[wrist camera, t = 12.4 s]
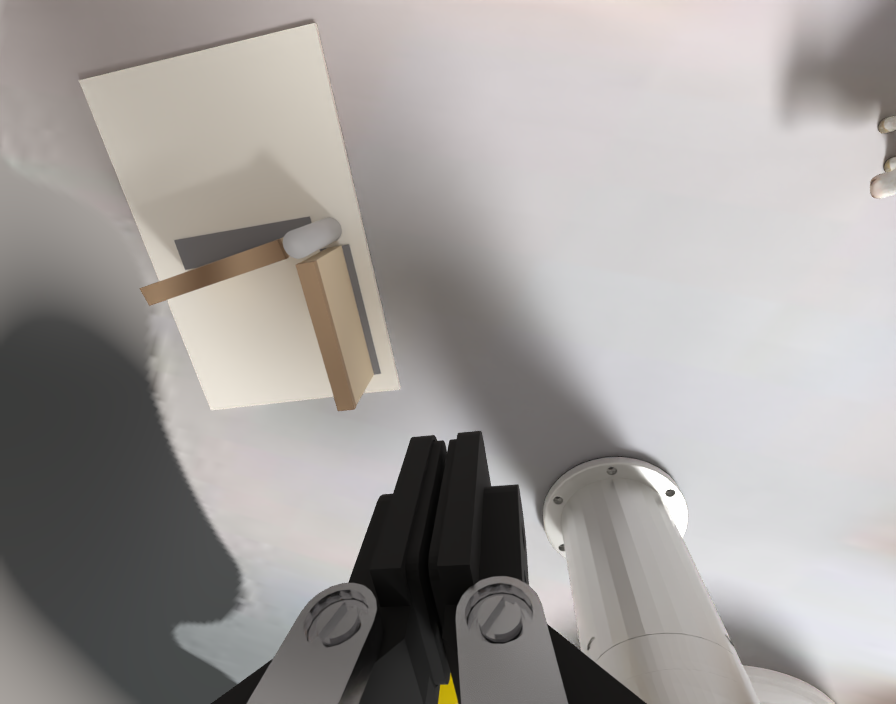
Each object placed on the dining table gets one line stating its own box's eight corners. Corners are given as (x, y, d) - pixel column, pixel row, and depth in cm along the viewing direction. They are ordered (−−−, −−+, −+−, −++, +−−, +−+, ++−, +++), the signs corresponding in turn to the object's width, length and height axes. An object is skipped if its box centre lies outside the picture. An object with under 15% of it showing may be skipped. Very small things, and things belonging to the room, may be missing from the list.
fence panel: (308, 227, 36) (277, 239, 31) (315, 244, 36) (285, 259, 31) (187, 270, 38) (139, 288, 33) (195, 285, 39) (149, 305, 34)
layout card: (400, 387, 41) (382, 429, 35) (213, 408, 44) (165, 450, 38) (316, 24, 32) (270, -9, 25) (83, 81, 34) (-12, 64, 28)
